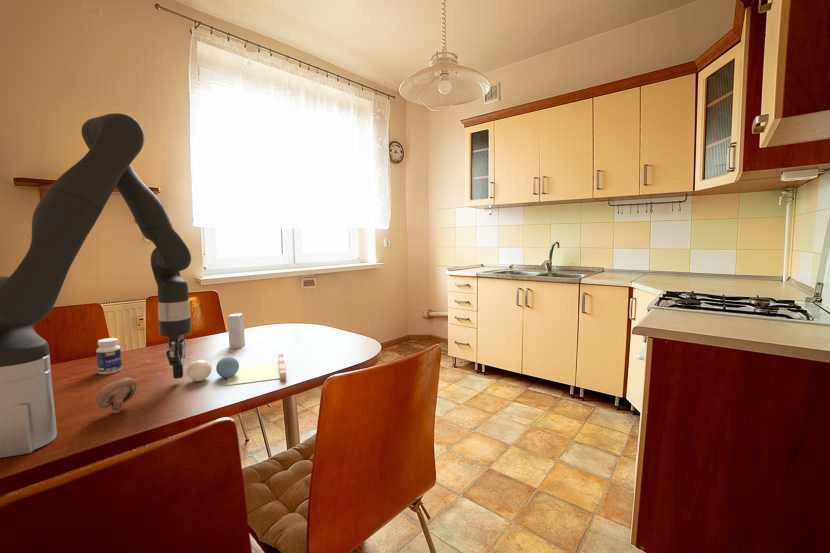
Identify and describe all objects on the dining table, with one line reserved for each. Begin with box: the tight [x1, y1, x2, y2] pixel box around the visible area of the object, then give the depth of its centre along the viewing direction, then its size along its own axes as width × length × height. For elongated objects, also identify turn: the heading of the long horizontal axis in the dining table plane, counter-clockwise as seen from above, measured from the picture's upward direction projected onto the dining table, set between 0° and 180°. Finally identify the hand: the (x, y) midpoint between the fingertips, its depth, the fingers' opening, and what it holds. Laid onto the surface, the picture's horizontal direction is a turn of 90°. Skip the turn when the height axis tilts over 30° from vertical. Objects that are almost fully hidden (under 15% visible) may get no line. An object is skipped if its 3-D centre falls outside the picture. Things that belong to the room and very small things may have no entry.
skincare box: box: [227, 312, 246, 349], centre depth 139 cm, size 6×4×12 cm
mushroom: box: [95, 377, 138, 414], centre depth 85 cm, size 8×6×8 cm
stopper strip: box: [277, 353, 287, 382], centre depth 113 cm, size 18×2×2 cm, turn 22°
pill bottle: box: [95, 337, 123, 375], centre depth 111 cm, size 6×6×10 cm
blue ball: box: [215, 356, 240, 379], centre depth 107 cm, size 6×6×6 cm
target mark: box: [226, 362, 280, 387], centre depth 110 cm, size 14×14×1 cm
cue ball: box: [186, 359, 212, 382], centre depth 105 cm, size 6×6×6 cm
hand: (178, 377), depth 103 cm, fingers closed
